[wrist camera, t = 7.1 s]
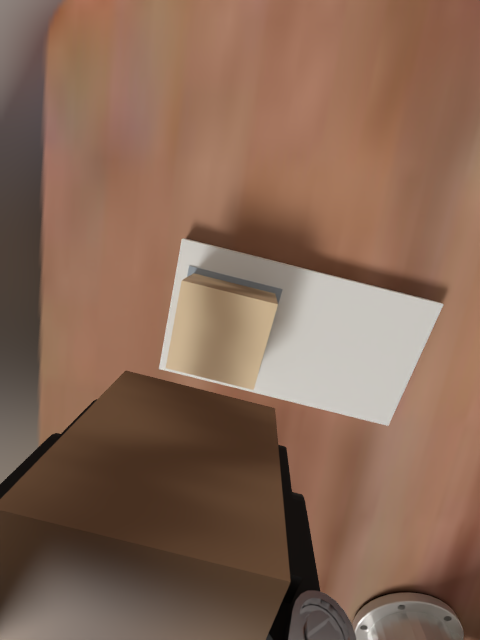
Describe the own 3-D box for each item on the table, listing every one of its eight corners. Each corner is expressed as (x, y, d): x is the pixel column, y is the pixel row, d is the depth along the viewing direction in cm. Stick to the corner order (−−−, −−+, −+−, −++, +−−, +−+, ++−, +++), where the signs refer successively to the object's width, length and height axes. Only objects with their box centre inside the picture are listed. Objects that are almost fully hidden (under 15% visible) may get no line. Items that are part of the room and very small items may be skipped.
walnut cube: (274, 408, 10) (290, 581, 5) (238, 520, 11) (222, 740, 6) (125, 370, 10) (-9, 508, 5) (108, 488, 11) (-8, 684, 6)
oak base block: (275, 293, 25) (278, 304, 21) (254, 367, 27) (253, 389, 23) (193, 273, 25) (181, 280, 21) (179, 348, 27) (165, 368, 23)
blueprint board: (435, 300, 25) (444, 304, 24) (383, 418, 29) (388, 426, 27) (185, 238, 25) (181, 238, 24) (163, 363, 28) (158, 369, 27)
